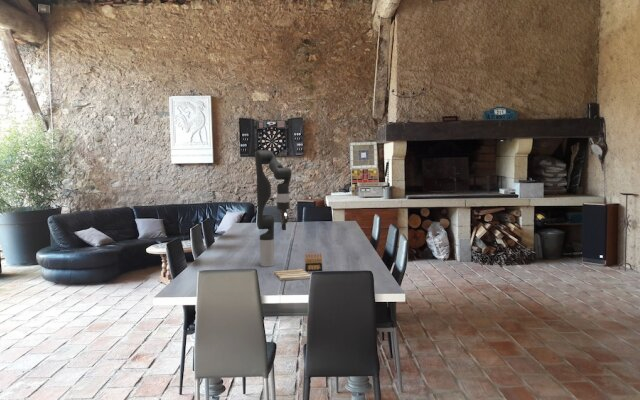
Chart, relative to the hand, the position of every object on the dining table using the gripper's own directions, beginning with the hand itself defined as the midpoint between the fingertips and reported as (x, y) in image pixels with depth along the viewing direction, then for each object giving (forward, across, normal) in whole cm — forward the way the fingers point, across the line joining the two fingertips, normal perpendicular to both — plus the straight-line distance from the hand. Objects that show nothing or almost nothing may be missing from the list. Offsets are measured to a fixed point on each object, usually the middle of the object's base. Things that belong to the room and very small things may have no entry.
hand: (283, 230), depth 302 cm
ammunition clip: (+27, -2, +19) cm, 33 cm away
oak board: (+27, +1, +3) cm, 27 cm away
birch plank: (+27, +11, +3) cm, 29 cm away
